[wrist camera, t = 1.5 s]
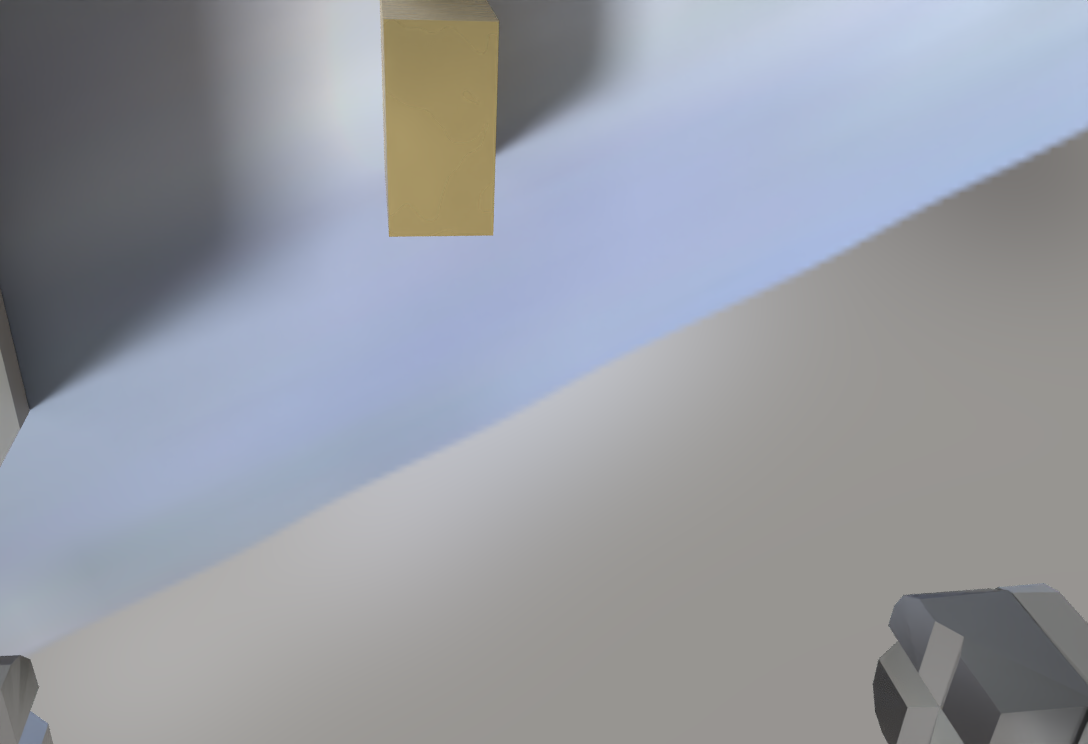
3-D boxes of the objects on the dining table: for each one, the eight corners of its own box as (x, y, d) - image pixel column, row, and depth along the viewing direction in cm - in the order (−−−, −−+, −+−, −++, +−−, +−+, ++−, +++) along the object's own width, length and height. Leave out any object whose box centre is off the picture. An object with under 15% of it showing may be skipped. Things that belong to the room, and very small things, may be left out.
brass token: (379, -20, 26) (383, 19, 22) (476, -18, 26) (499, 21, 22) (384, 168, 28) (389, 236, 24) (473, 168, 29) (492, 235, 25)
